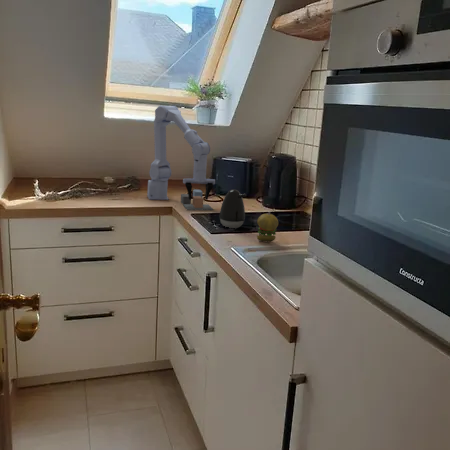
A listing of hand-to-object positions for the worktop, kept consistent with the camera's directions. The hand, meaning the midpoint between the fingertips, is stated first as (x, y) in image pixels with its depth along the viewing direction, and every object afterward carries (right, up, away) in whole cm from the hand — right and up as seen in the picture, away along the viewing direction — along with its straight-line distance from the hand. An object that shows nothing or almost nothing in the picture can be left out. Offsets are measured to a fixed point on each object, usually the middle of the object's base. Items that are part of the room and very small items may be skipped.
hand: (198, 199), depth 221 cm
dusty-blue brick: (-1, +1, +20) cm, 20 cm away
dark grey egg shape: (+15, -13, -27) cm, 33 cm away
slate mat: (0, -4, +1) cm, 4 cm away
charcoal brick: (-6, -2, +8) cm, 10 cm away
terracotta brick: (0, -3, +1) cm, 3 cm away
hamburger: (+27, -18, -45) cm, 55 cm away
